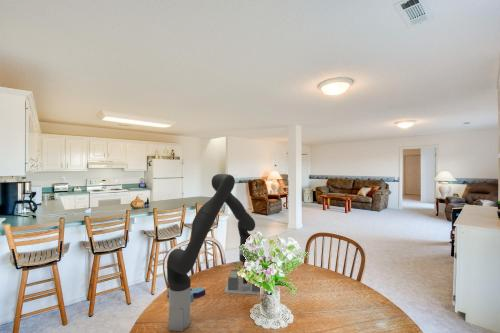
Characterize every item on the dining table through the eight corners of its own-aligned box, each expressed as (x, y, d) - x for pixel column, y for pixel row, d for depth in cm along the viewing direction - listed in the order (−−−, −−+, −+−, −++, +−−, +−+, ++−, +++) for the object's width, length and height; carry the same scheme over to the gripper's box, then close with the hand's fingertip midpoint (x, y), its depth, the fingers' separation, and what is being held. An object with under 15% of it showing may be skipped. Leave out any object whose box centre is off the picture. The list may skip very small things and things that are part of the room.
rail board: (263, 295, 137) (264, 281, 137) (224, 292, 138) (224, 278, 138) (264, 282, 151) (264, 270, 150) (228, 280, 152) (228, 268, 152)
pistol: (207, 294, 137) (186, 306, 125) (187, 286, 146) (166, 297, 133) (207, 287, 137) (187, 298, 125) (188, 279, 146) (167, 289, 133)
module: (250, 287, 142) (250, 272, 142) (239, 286, 143) (239, 272, 143) (250, 283, 146) (250, 269, 146) (240, 283, 147) (240, 269, 147)
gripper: (251, 257, 137) (250, 287, 137) (253, 248, 151) (252, 276, 151) (237, 256, 137) (237, 286, 138) (241, 247, 152) (240, 275, 152)
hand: (245, 281), depth 144 cm, fingers open, 4 cm apart
